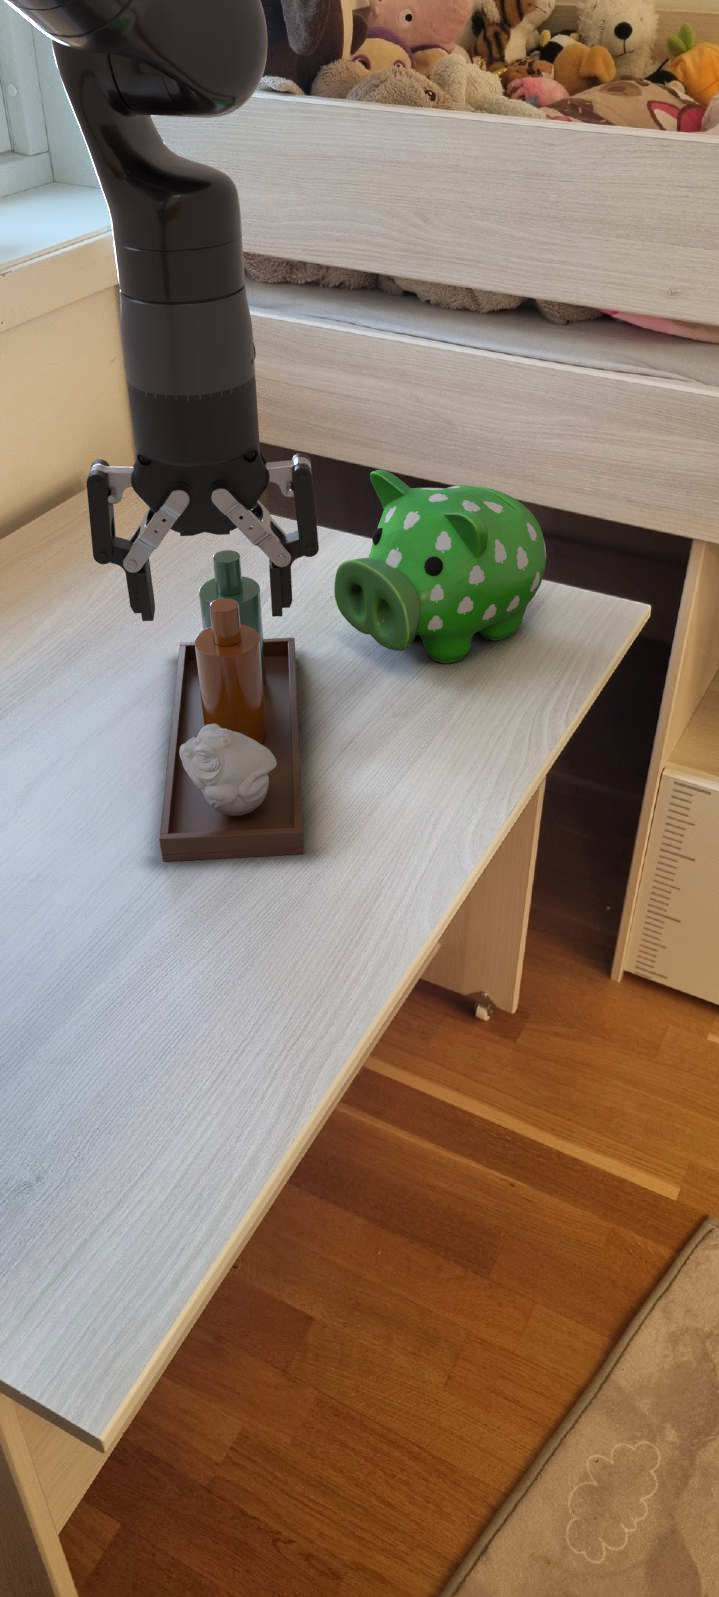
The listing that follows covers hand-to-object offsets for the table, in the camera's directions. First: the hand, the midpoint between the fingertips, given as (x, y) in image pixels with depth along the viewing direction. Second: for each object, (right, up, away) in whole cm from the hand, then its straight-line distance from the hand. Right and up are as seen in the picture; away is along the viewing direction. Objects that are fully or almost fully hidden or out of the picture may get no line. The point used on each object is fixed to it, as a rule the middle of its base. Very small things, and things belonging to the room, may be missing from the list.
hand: (213, 613), depth 80 cm
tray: (0, -8, +17) cm, 19 cm away
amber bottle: (0, -7, +18) cm, 19 cm away
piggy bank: (+18, +3, +31) cm, 36 cm away
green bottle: (-1, -2, +24) cm, 24 cm away
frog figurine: (0, -13, +10) cm, 17 cm away
